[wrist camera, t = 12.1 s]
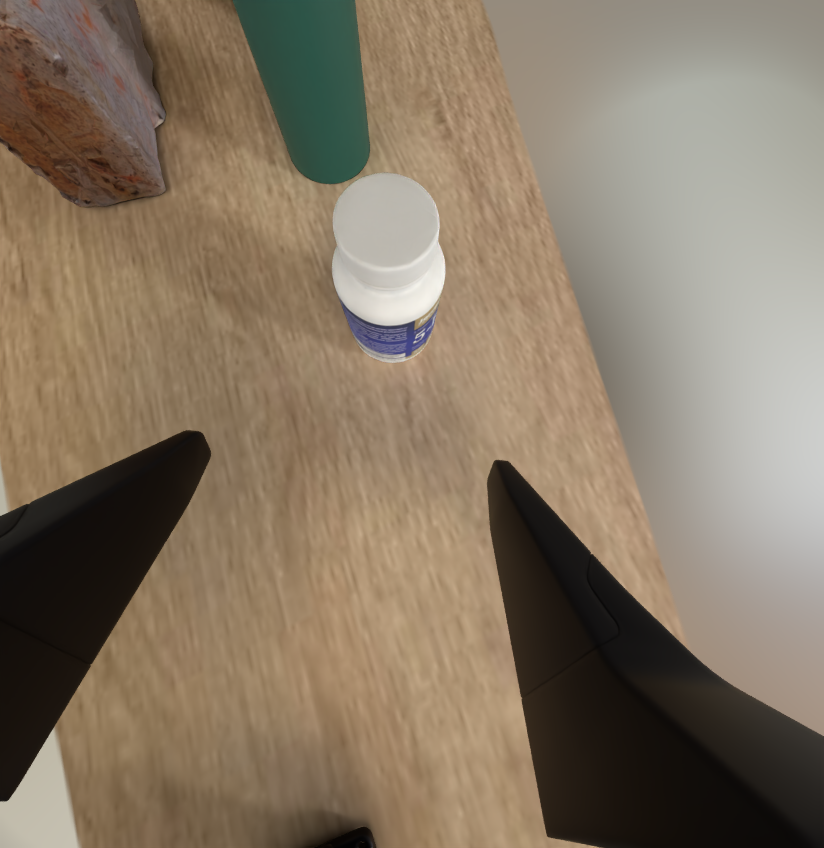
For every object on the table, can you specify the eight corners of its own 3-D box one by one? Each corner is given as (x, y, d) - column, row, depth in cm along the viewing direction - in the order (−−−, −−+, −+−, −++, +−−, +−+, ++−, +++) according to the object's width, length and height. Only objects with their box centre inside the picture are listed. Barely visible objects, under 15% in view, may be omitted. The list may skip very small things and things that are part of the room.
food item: (47, 43, 21) (-257, -312, 11) (162, 25, 22) (-35, -330, 12) (72, 217, 20) (-247, -15, 10) (195, 194, 20) (3, -49, 11)
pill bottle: (426, 370, 20) (445, 300, 11) (346, 357, 20) (300, 275, 11) (438, 294, 20) (466, 168, 11) (360, 281, 20) (328, 144, 11)
